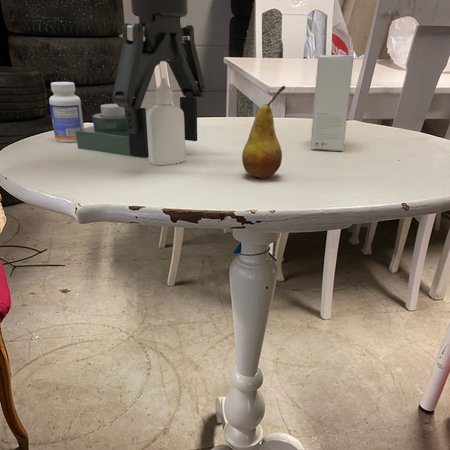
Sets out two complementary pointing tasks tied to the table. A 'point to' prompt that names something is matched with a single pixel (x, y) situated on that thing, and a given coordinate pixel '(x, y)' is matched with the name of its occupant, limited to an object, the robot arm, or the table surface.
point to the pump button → (112, 111)
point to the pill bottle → (65, 111)
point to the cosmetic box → (331, 101)
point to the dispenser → (105, 135)
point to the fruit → (262, 145)
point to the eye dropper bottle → (165, 129)
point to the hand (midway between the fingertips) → (166, 147)
